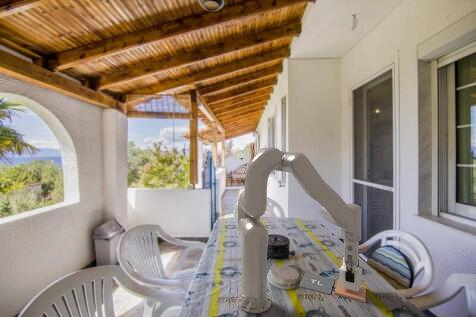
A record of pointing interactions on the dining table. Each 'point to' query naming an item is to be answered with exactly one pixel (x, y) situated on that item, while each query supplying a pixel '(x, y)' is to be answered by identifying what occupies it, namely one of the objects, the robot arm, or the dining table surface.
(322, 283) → the tile
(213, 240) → the dining table surface
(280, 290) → the dining table surface
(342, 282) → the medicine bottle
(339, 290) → the terracotta pad
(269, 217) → the dining table surface
